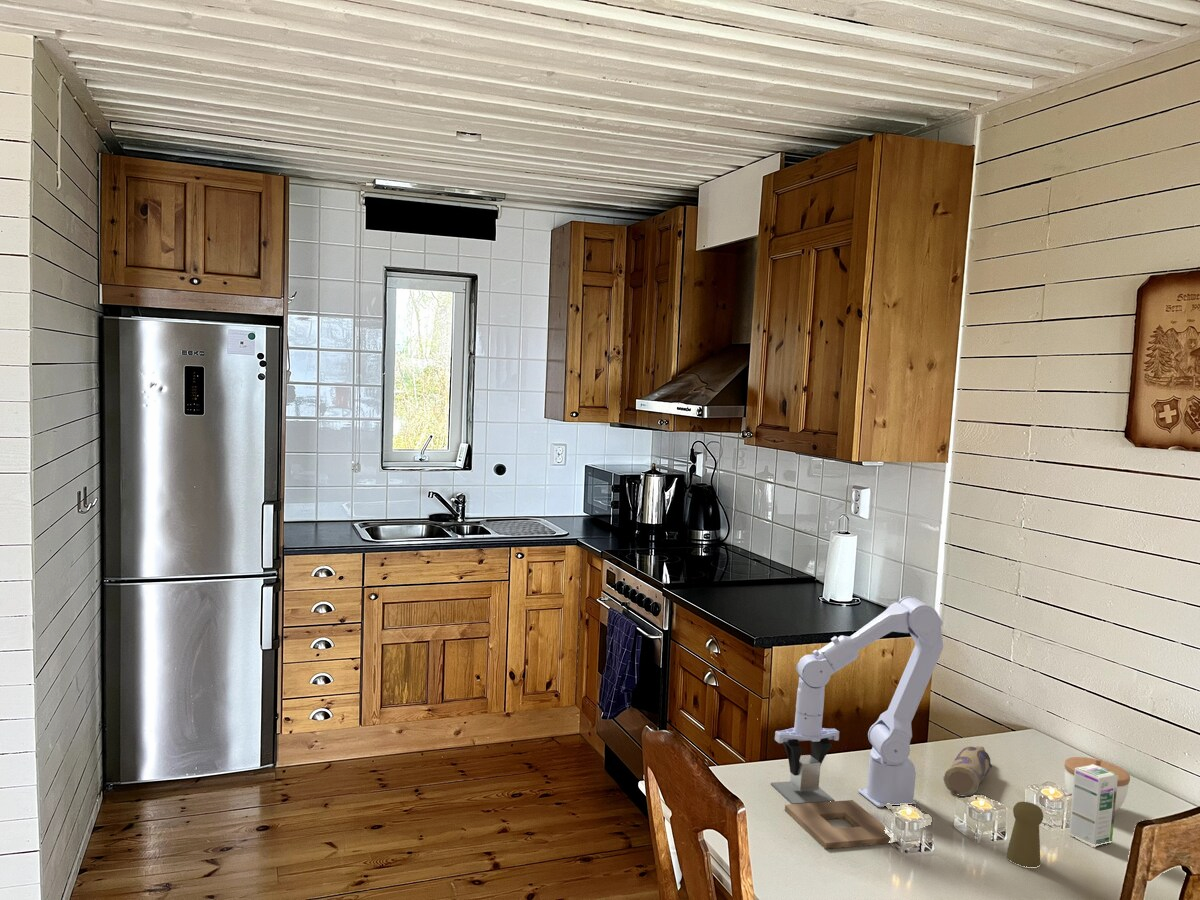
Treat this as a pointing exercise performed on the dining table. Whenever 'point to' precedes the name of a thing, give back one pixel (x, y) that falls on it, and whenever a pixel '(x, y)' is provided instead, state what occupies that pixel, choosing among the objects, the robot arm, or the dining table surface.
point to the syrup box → (1093, 804)
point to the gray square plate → (801, 794)
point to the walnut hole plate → (829, 837)
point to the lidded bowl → (1083, 761)
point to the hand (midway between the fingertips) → (803, 772)
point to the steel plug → (807, 774)
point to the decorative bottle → (967, 771)
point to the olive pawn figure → (1025, 835)
